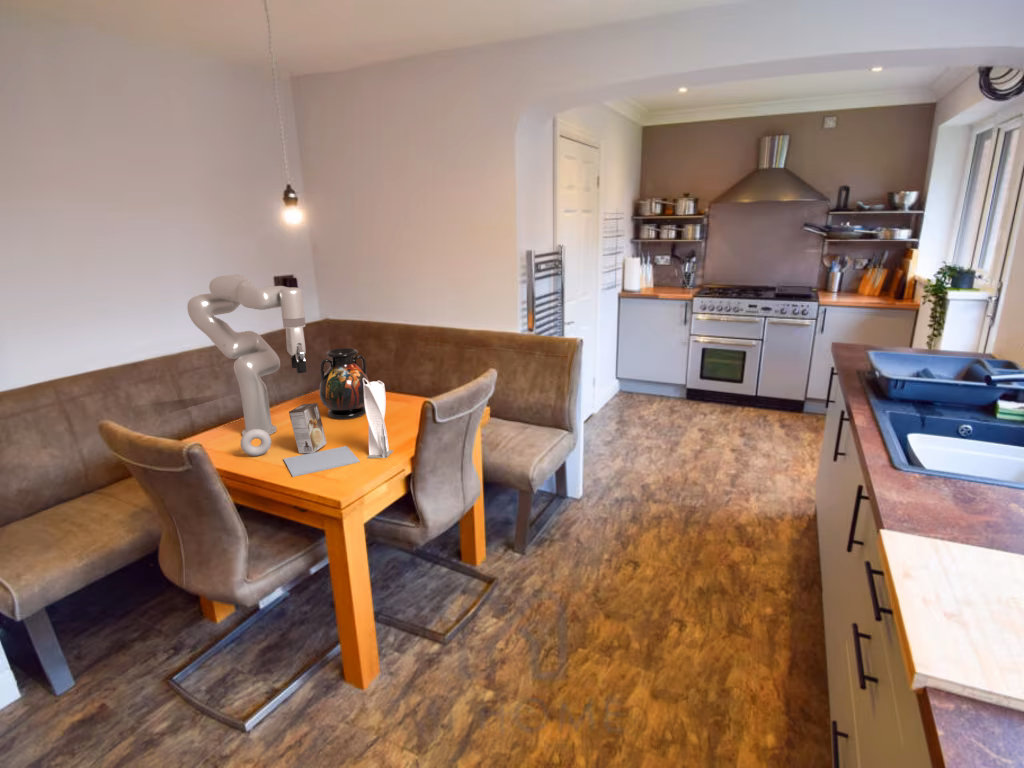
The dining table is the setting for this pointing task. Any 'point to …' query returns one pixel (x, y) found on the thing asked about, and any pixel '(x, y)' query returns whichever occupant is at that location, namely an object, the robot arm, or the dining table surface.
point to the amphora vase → (343, 384)
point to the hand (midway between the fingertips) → (299, 369)
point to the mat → (320, 461)
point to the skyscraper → (376, 419)
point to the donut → (254, 450)
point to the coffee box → (308, 428)
